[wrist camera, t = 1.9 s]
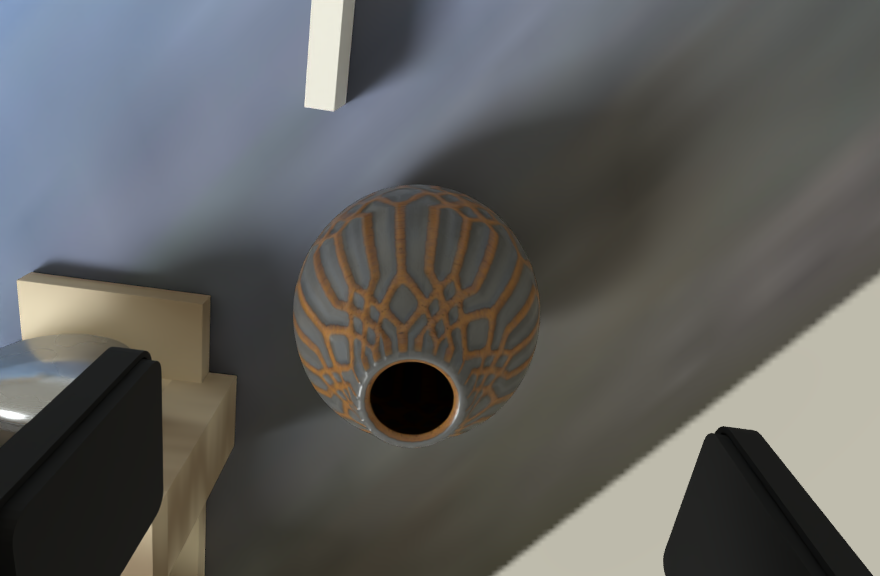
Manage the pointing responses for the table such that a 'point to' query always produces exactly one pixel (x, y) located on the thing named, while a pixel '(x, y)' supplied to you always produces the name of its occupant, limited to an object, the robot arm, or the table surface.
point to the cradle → (329, 53)
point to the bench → (183, 396)
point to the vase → (416, 314)
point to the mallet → (42, 373)
